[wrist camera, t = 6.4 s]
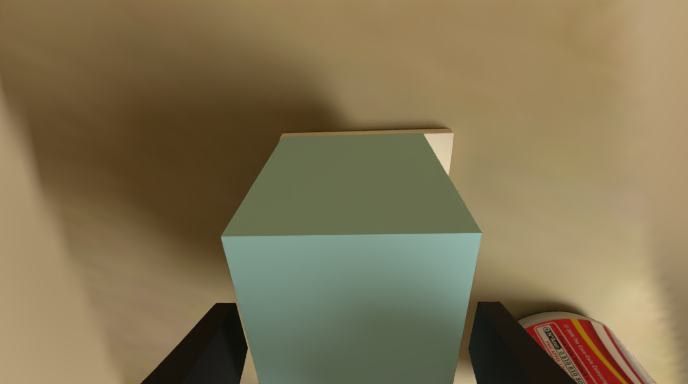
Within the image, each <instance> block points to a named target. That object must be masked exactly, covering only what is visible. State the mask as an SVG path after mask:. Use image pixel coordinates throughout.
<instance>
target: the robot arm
mask: <svg viewBox="0 0 688 384" xmlns="http://www.w3.org/2000/svg"><path fill="white" fill-rule="evenodd" d="M247 349H248V347H247V343H246V339H245V336H244V332H243V328H242V324H241V320H240V317H239V313H238V309H237V305H236V303H216V304H215V305H214V306H213V307H212V308H211V309H210V310H209V311H208V312H207V313H206V314H205V316H204V317H203V318H202V319H201V320H200V321H199V322H198V323H197V324H196V325H195V327H194V328H193V329H192V330H191V331H190V332H189V333H188V334H187V335H186V337H185V338H184V339H183V340H182V341H181V342H180V343H179V344H178V345H177V346H176V347H175V348H174V350H173V351H172V352H171V353H170V354H169V355H168V356H167V357H166V358H165V359H164V360H163V361H162V362H161V363H160V364H159V365H158V367H157V368H156V369H155V370H154V371H153V372H152V373H151V374H150V375H149V376H148V377H147V378H146V379H145V380H144V381H143V382H142V383H141V384H240V380H241V376H242V372H243V368H244V363H245V359H246V354H247ZM468 349H469V353H470V357H471V361H472V365H473V369H474V373H475V377H476V381H477V384H578V383H577V382H576V381H575V380H574V379H573V378H572V377H571V376H570V375H569V374H568V373H567V372H566V371H565V370H564V369H563V368H562V367H561V366H560V365H559V364H558V363H557V362H556V361H555V360H554V359H553V358H552V357H551V356H550V355H549V354H548V353H547V352H546V351H545V350H544V349H543V348H542V347H541V346H540V345H539V344H538V342H537V341H536V340H535V339H534V338H533V337H532V336H531V335H530V334H529V333H528V332H527V331H526V330H525V329H524V328H523V326H522V325H521V324H520V323H519V322H518V321H517V320H516V319H515V318H514V317H513V316H512V314H511V313H510V312H509V311H508V310H507V309H506V308H505V307H504V306H503V305H502V304H501V303H500V302H478V305H477V310H476V314H475V319H474V324H473V329H472V334H471V338H470V343H469V348H468Z"/></svg>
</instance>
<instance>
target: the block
mask: <svg viewBox="0 0 688 384" xmlns="http://www.w3.org/2000/svg"><path fill="white" fill-rule="evenodd" d="M481 235H482V232H481V231H480V229H479V227H478V225H477V224H476V222H475V220H474V219H473V217H472V215H471V214H470V212H469V210H468V209H467V207H466V205H465V203H464V202H463V200H462V198H461V197H460V195H459V193H458V192H457V190H456V188H455V186H454V185H453V183H452V181H451V180H450V178H449V176H448V175H447V173H446V171H445V169H444V168H443V166H442V164H441V163H440V161H439V159H438V158H437V156H436V154H435V152H434V151H433V149H432V147H431V146H430V144H429V142H428V141H427V139H426V137H425V136H424V134H423V133H399V134H364V135H328V136H292V137H282V138H281V140H280V141H279V143H278V145H277V146H276V148H275V150H274V151H273V153H272V154H271V156H270V158H269V159H268V161H267V163H266V164H265V166H264V167H263V169H262V171H261V172H260V174H259V175H258V177H257V179H256V180H255V182H254V184H253V185H252V187H251V188H250V190H249V192H248V193H247V195H246V197H245V198H244V200H243V201H242V203H241V205H240V206H239V208H238V209H237V211H236V213H235V214H234V216H233V218H232V219H231V221H230V222H229V224H228V226H227V227H226V229H225V231H224V232H223V234H222V235H221V240H222V243H223V247H224V251H225V255H226V259H227V262H228V266H229V270H230V274H231V278H232V281H233V285H234V289H235V293H236V297H237V300H238V304H239V308H240V312H241V316H242V319H243V323H244V327H245V331H246V335H247V338H248V342H249V346H250V350H251V354H252V357H253V361H254V365H255V369H256V373H257V376H258V380H259V384H453V381H454V376H455V371H456V365H457V360H458V355H459V350H460V345H461V339H462V334H463V329H464V324H465V319H466V313H467V308H468V303H469V298H470V293H471V287H472V282H473V277H474V272H475V266H476V261H477V256H478V251H479V246H480V240H481Z"/></svg>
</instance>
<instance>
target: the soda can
mask: <svg viewBox="0 0 688 384" xmlns="http://www.w3.org/2000/svg"><path fill="white" fill-rule="evenodd" d="M518 322H519V323H520V324H521V325H522V326H523V328H524V329H525V330H526V331H527V332H528V333H529V334H530V335H531V336H532V337H533V338H534V339H535V340H536V341H537V342H538V344H539V345H540V346H541V347H542V348H543V349H544V350H545V351H546V352H547V353H548V354H549V355H550V356H551V357H552V358H553V359H554V360H555V361H556V362H557V363H558V364H559V365H560V366H561V367H562V368H563V369H564V370H565V371H566V372H567V373H568V374H569V375H570V376H571V377H572V378H573V379H574V380H575V381H576V382H577V383H578V384H656V382H655V381H654V380H653V379H652V378H651V376H650V375H649V374H648V373H647V372H646V371H645V369H644V368H643V367H642V366H641V365H640V363H639V362H638V361H637V360H636V359H635V357H634V356H633V355H632V354H631V353H630V352H629V350H628V349H627V348H626V347H625V346H624V344H623V343H622V342H621V341H620V340H619V339H618V337H617V336H616V335H615V334H614V333H613V332H612V331H611V330H610V329H609V328H608V327H607V326H606V325H604V324H602V323H600V322H598V321H596V320H594V319H591V318H588V317H585V316H581V315H578V314H574V313H569V312H544V313H539V314H535V315H531V316H528V317H525V318H523V319H521V320H519V321H518Z"/></svg>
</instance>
